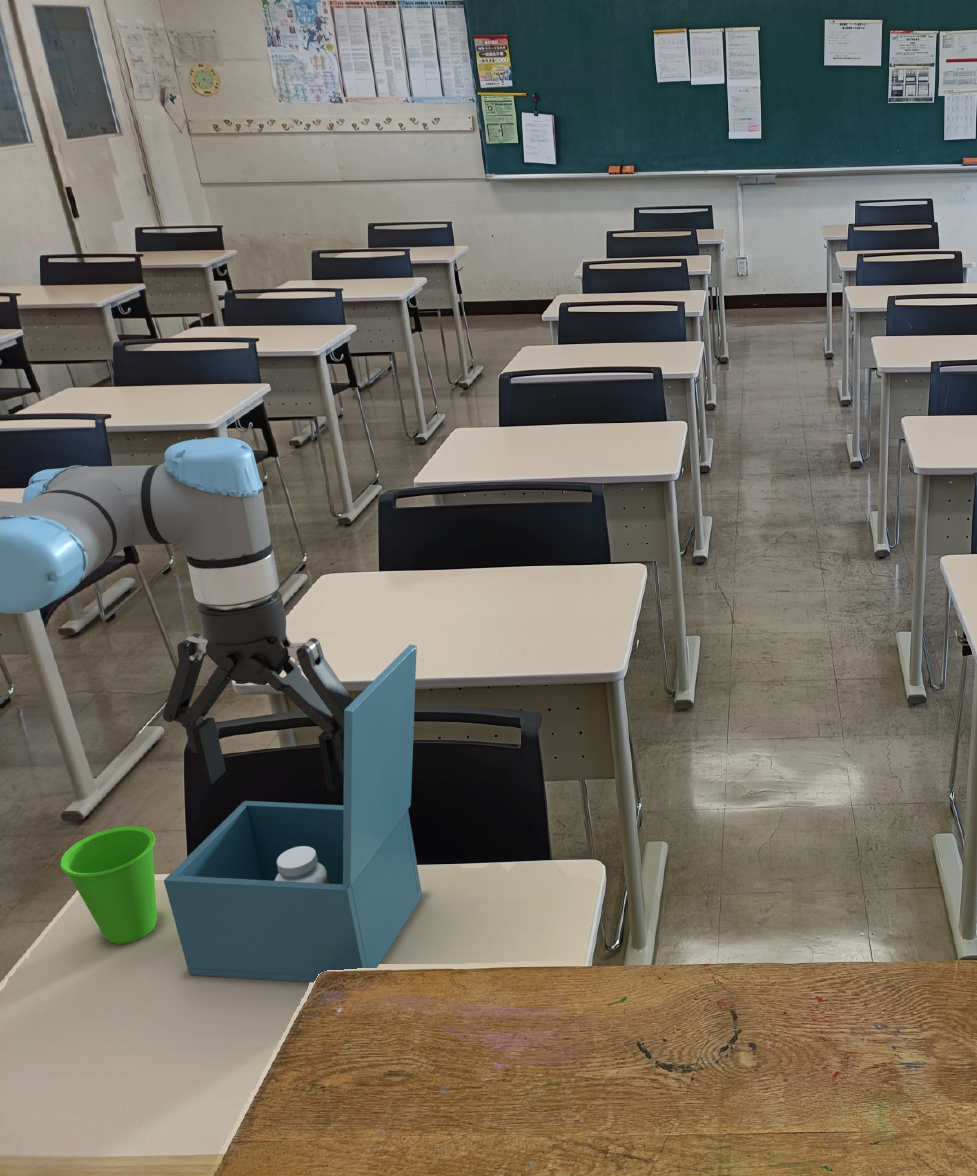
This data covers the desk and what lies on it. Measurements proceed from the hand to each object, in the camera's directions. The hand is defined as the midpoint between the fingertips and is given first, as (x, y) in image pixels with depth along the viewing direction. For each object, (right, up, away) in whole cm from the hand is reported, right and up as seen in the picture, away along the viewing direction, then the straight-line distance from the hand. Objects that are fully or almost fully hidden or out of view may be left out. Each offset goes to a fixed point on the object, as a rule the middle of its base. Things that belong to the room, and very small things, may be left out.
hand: (276, 781), depth 111 cm
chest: (0, -19, +7) cm, 20 cm away
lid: (+12, +2, -2) cm, 12 cm away
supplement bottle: (0, -18, +7) cm, 20 cm away
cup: (-21, -19, +8) cm, 29 cm away
